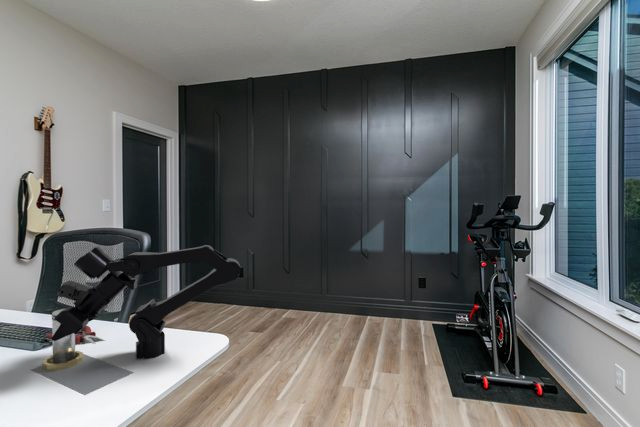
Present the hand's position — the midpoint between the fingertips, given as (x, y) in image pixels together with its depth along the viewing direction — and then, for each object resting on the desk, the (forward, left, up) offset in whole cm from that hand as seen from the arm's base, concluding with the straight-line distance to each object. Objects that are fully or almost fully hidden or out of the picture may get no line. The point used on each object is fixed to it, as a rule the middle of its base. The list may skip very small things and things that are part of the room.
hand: (57, 336), depth 84 cm
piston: (-1, 0, -7) cm, 7 cm away
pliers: (-2, -19, -9) cm, 21 cm away
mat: (-5, +8, -8) cm, 12 cm away
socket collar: (-1, 0, -8) cm, 8 cm away
